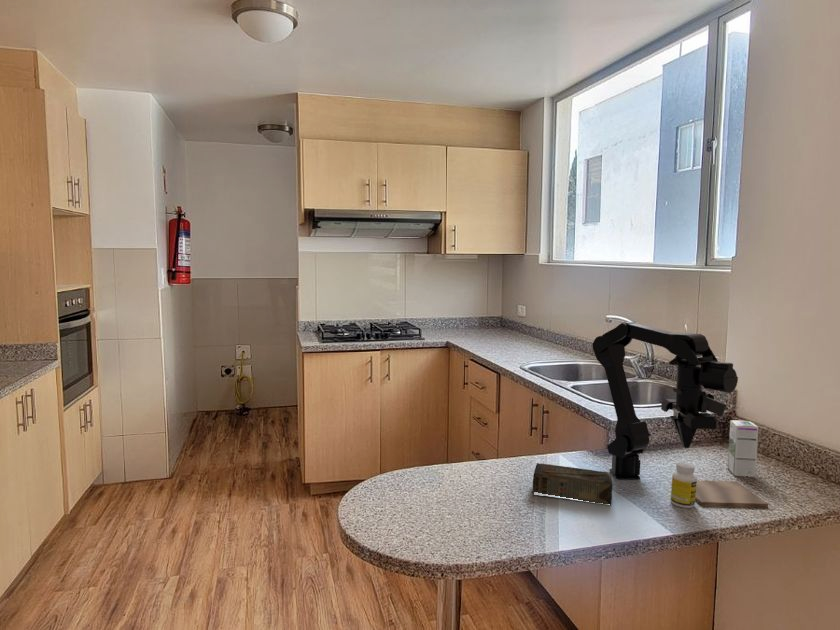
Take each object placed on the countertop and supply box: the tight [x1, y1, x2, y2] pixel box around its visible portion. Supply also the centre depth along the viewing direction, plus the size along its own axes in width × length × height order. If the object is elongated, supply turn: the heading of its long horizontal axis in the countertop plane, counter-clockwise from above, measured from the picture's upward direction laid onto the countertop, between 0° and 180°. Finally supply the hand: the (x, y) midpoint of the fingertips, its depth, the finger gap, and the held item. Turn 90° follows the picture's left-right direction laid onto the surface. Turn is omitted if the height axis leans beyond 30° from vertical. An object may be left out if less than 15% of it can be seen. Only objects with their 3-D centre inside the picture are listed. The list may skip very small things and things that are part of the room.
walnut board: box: [695, 479, 769, 509], centre depth 143 cm, size 16×14×1 cm
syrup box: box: [727, 419, 759, 478], centre depth 158 cm, size 6×6×14 cm
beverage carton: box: [532, 462, 614, 506], centre depth 141 cm, size 8×19×7 cm, turn 74°
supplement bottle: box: [670, 461, 698, 509], centre depth 137 cm, size 5×5×10 cm
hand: (686, 447), depth 139 cm, fingers closed
